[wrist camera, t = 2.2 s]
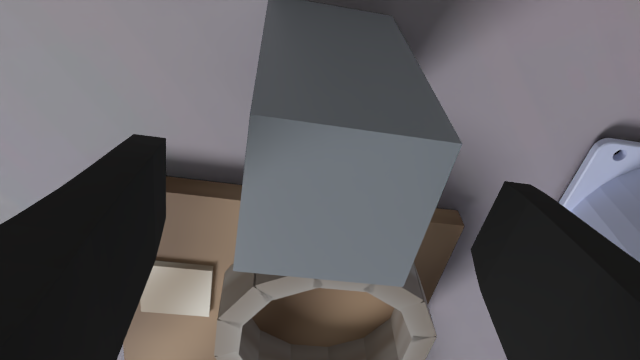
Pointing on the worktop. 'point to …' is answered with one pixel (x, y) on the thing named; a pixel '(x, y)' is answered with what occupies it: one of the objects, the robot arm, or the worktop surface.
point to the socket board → (282, 316)
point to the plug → (339, 149)
